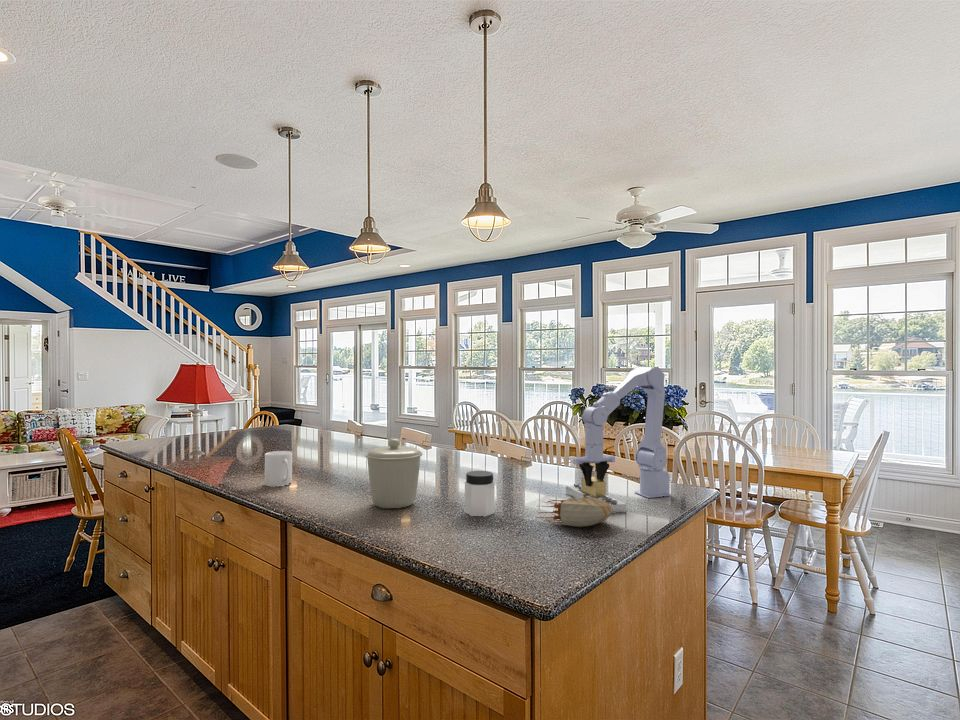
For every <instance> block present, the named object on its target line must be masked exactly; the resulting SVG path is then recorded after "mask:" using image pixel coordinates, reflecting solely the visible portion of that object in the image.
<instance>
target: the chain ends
mask: <svg viewBox="0 0 960 720" xmlns="http://www.w3.org/2000/svg"><path fill="white" fill-rule="evenodd" d="M565 494H566V495H568V496H570V497H571V498H584V497H589V498H595V497H593V496H590V495H588V494H586V493H584V492H582V484H580V483H573V485H566V486H565ZM595 499H599V500H602V501H604V502H606V503H608V504H609V505H610V506H611V508H612V509H613V512H612V513H611V514H617V513H616V512H621V513H626V512H627V503H626V502H623V501H621V500H618V499H616V498H615V497H611V496H609V495H608V494H606V497H604V498H595Z"/></svg>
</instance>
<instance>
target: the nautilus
mask: <svg viewBox="0 0 960 720" xmlns="http://www.w3.org/2000/svg"><path fill="white" fill-rule="evenodd" d="M541 502H542V503H545V504H553V505H542V507H545V508H547V507H548V508H554V509H552V511H551V512H550V511H538V512H537V513H539V514H547V513H548V514H551V515H553V516H544V517H543V516H542V517H541V516H537V518H540V519H545V520H544V522H549V523H552V524H550V525H551V526H552V525H553V524H555V525H556V524H558V525H563V526H564V525H565V526H569V527H575V528H585V527H586V528H587V527H591V526H594V525H597V524H599V523H601V522H604V521H606V520H607V519H608V518H609V517H610V516H611V514H613V513H612V512H613V509H612V508H611V506H610V505H609V504H608V503H606V502H604V501H602V499H601V500H599V499H595V498H589V497H587V496H586V497H584V498H574V497H569V498H567V499H552V501H551V499H549V500H547V501H541ZM536 507H538V508H539V505H536ZM555 509H556V510H555ZM555 514H556V515H555Z"/></svg>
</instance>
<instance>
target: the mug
mask: <svg viewBox="0 0 960 720" xmlns="http://www.w3.org/2000/svg"><path fill="white" fill-rule="evenodd" d="M292 481H293V451H289V450H274V451H269V452H266V453H264V485H265V486H266V485H270V486H277V485H285V484H289V483H291V482H292ZM292 483H293V482H292ZM292 483H291V484H292Z"/></svg>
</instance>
